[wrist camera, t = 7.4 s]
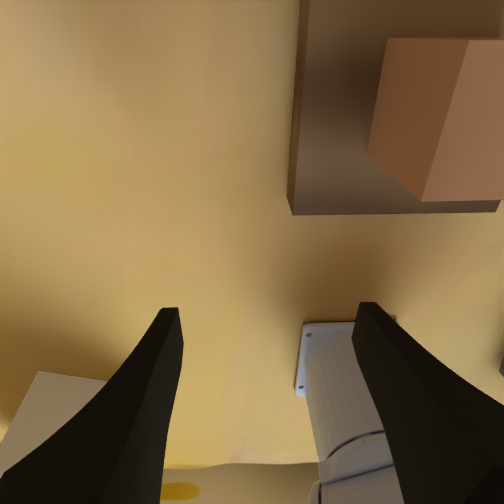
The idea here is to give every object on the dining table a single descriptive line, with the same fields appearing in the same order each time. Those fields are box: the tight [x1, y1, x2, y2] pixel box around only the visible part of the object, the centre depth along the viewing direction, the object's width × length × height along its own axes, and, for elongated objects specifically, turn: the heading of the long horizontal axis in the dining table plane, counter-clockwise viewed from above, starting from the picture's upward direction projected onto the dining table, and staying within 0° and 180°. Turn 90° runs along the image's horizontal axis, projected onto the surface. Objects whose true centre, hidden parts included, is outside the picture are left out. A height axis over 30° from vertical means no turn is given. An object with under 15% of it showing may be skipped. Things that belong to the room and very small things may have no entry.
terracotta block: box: [366, 37, 504, 202], centre depth 13 cm, size 5×5×6 cm
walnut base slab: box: [287, 0, 504, 215], centre depth 17 cm, size 12×12×2 cm
